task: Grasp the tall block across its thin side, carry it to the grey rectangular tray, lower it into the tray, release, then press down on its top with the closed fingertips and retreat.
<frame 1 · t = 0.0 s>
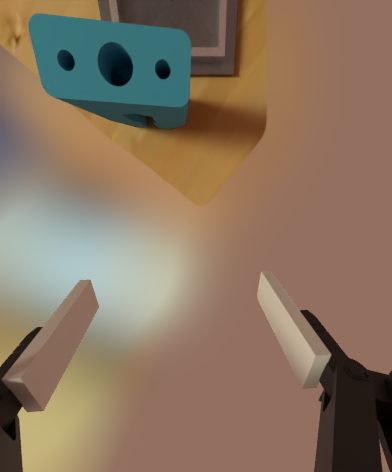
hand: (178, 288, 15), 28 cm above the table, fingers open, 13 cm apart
grey rectangular tray: (170, 26, 28), on the table
block: (152, 111, 33), on the table
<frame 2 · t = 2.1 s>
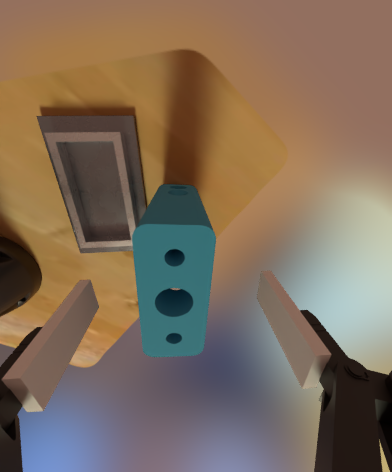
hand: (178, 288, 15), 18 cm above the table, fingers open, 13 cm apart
grey rectangular tray: (105, 192, 29), on the table
block: (177, 214, 31), on the table
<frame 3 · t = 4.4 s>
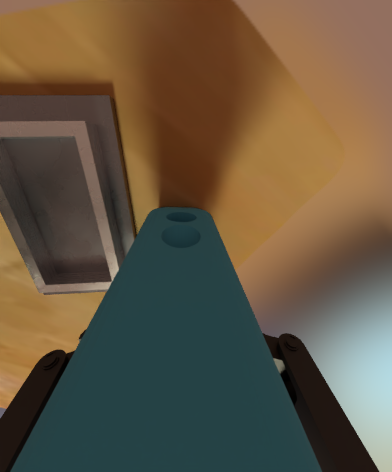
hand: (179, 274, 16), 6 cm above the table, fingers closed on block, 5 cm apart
grey rectangular tray: (75, 212, 20), on the table
block: (180, 241, 22), on the table, touching gripper
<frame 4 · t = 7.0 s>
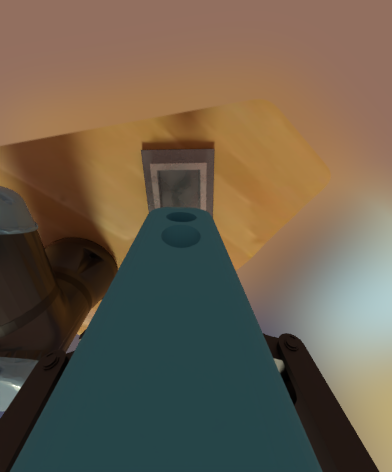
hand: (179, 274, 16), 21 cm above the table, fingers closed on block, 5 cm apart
grey rectangular tray: (181, 207, 36), on the table
block: (180, 241, 22), point 15 cm above the table, touching gripper
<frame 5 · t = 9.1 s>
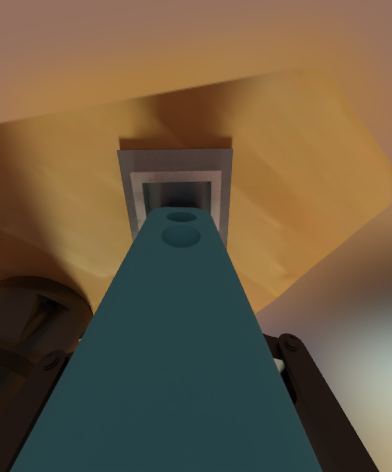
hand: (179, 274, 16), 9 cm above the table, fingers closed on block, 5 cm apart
grey rectangular tray: (180, 233, 24), on the table
block: (180, 241, 22), point 2 cm above the table, touching gripper
when the fingers open (9 cm above the table, at t = 9.8 s): block drops 1 cm, resting on grey rectangular tray.
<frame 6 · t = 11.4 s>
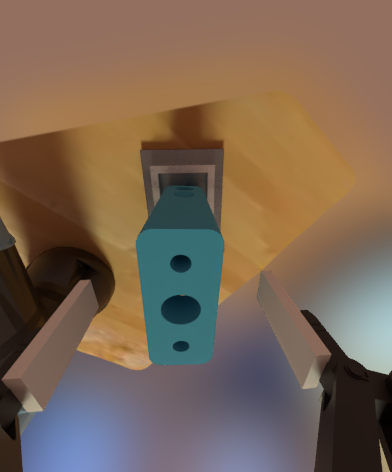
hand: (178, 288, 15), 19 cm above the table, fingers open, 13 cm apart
grey rectangular tray: (184, 213, 32), on the table
block: (184, 215, 31), point 1 cm above the table, touching grey rectangular tray
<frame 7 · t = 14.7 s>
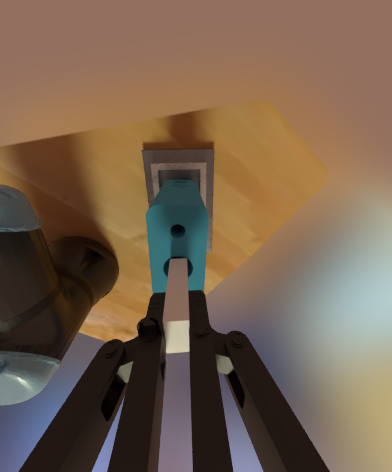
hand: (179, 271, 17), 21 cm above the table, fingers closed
grey rectangular tray: (181, 206, 36), on the table
block: (180, 207, 35), point 1 cm above the table, touching grey rectangular tray
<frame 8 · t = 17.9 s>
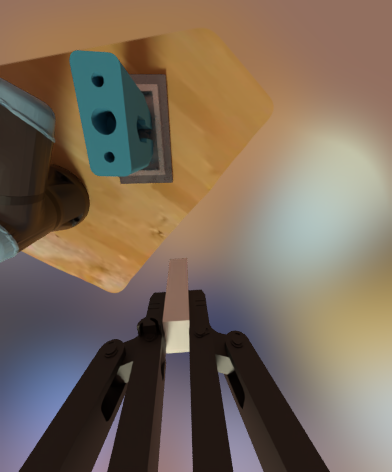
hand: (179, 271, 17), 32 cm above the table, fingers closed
grey rectangular tray: (141, 134, 40), on the table
block: (140, 134, 39), point 1 cm above the table, touching grey rectangular tray
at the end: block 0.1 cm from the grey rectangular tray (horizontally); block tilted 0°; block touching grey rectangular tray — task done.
